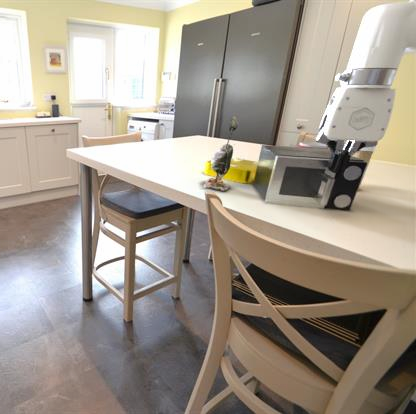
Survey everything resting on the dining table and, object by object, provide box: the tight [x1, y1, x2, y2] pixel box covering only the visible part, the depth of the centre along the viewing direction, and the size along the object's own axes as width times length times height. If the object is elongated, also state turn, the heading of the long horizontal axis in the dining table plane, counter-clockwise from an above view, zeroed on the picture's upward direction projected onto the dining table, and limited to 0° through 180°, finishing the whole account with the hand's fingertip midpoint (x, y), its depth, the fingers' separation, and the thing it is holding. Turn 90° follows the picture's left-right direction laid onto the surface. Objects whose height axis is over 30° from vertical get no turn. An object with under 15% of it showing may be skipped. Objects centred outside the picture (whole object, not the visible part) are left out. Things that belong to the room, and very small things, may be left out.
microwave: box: [252, 144, 367, 212], centre depth 73 cm, size 16×18×12 cm
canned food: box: [298, 141, 329, 149], centre depth 93 cm, size 8×8×11 cm
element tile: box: [203, 156, 258, 184], centre depth 94 cm, size 15×15×5 cm
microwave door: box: [264, 155, 336, 210], centre depth 65 cm, size 8×13×12 cm, turn 75°
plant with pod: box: [201, 115, 239, 192], centre depth 79 cm, size 8×11×20 cm
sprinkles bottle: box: [351, 145, 377, 192], centre depth 81 cm, size 5×5×14 cm
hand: (335, 171), depth 62 cm, fingers closed
